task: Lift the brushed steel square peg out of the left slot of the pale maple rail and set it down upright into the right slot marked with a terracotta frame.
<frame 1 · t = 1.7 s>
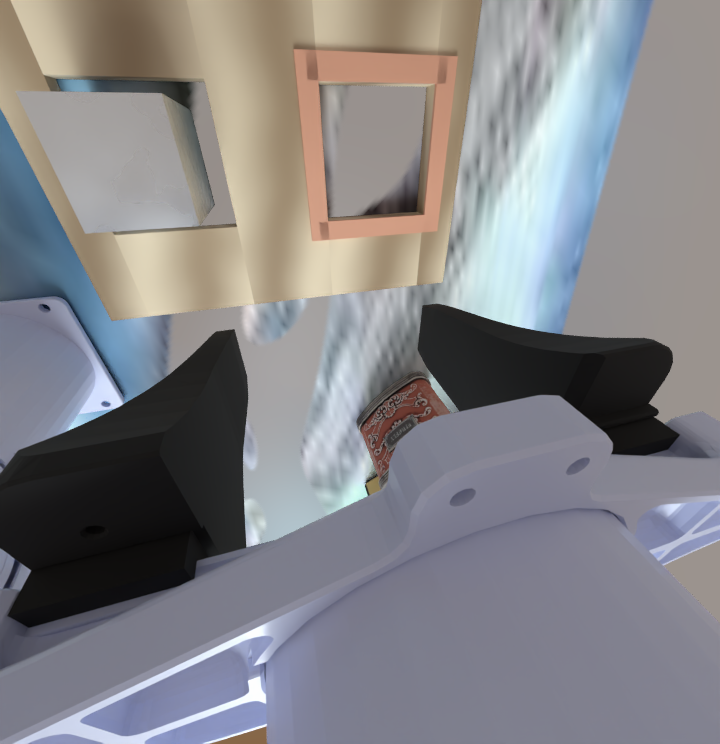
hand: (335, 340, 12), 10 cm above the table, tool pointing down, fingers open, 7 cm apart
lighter: (390, 401, 30), on the table
steel peg: (160, 162, 16), resting in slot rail
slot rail: (273, 159, 17), on the table
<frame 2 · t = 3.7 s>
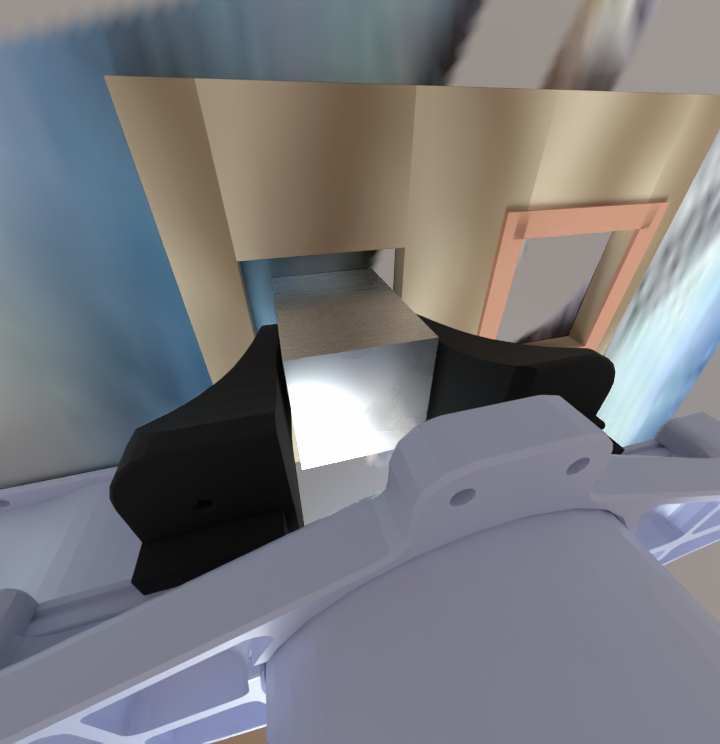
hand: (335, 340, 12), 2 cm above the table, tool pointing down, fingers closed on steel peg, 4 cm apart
steel peg: (326, 319, 14), resting in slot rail, touching gripper
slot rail: (442, 304, 15), on the table
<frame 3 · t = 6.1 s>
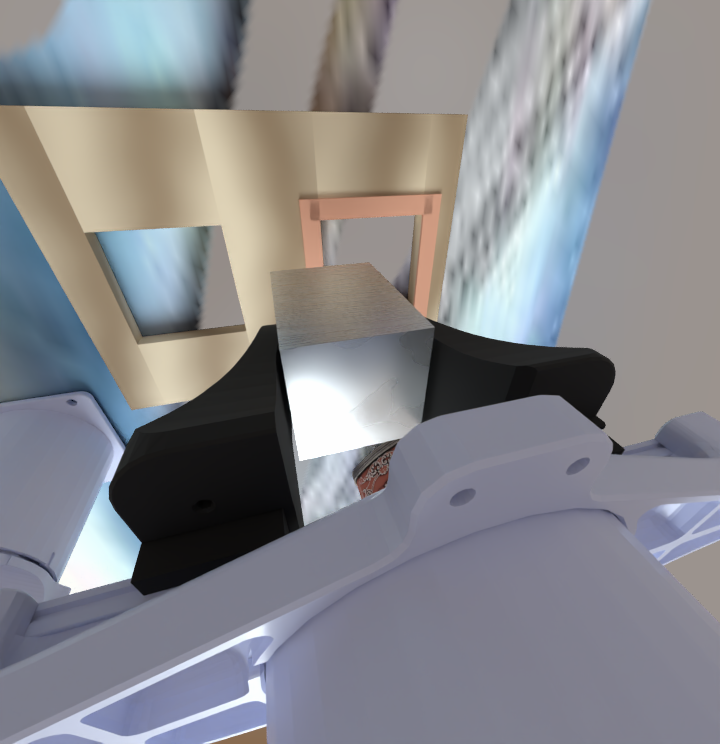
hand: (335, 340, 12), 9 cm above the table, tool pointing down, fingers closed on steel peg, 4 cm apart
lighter: (384, 454, 32), on the table
steel peg: (324, 313, 14), point 7 cm above the table, touching gripper
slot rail: (279, 273, 19), on the table
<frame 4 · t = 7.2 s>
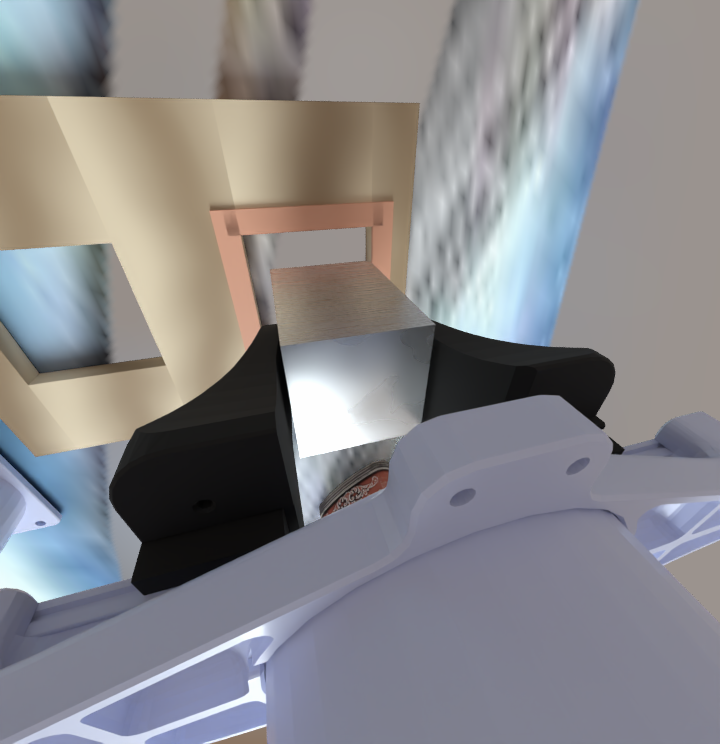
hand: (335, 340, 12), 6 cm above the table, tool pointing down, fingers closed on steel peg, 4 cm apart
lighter: (354, 486, 29), on the table
steel peg: (325, 311, 14), point 4 cm above the table, touching gripper
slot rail: (202, 297, 16), on the table
when the fingers open (3 cm above the table, at t = 8.4 s): steel peg stays where it is, resting in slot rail.
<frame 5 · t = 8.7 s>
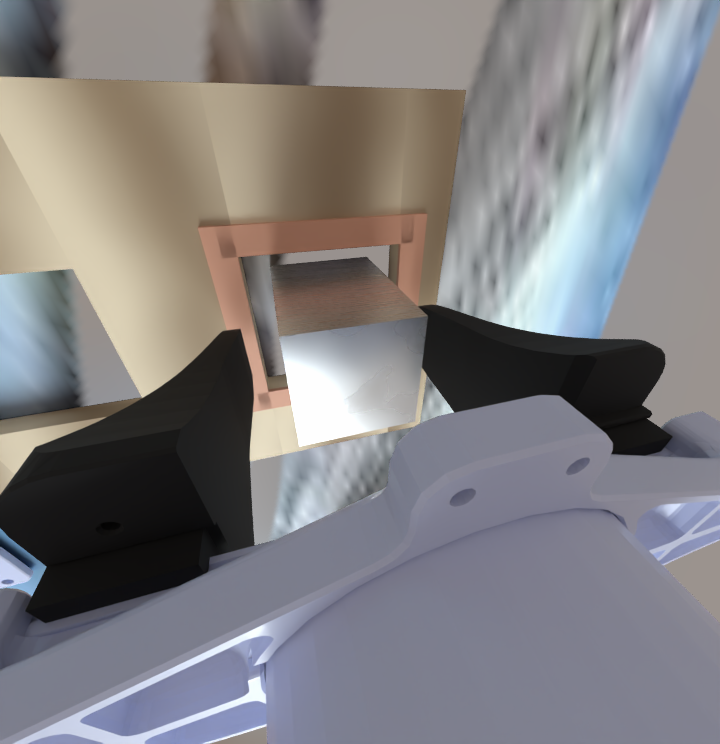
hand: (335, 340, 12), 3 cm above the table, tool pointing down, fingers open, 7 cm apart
steel peg: (323, 306, 14), resting in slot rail
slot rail: (192, 328, 13), on the table
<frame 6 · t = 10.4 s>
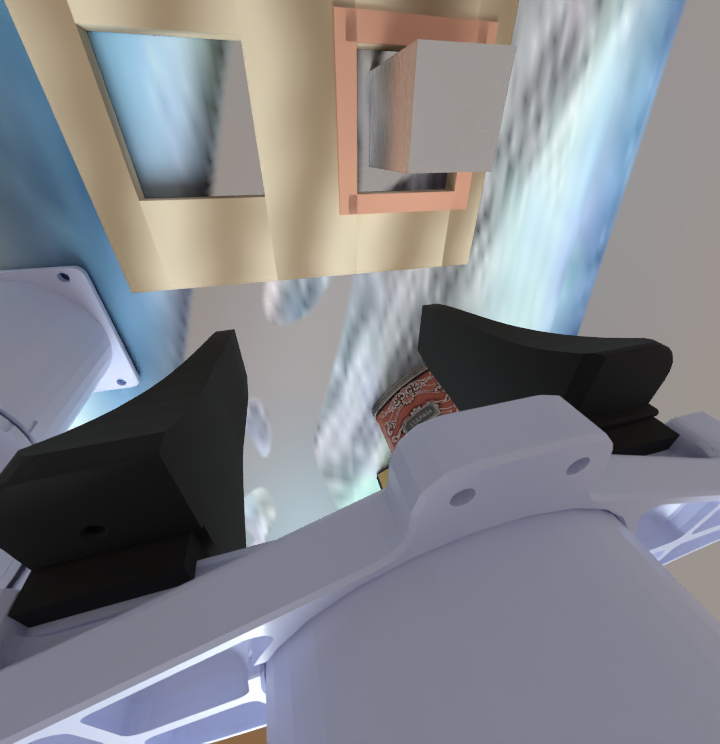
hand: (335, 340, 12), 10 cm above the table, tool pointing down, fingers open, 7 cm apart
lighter: (406, 389, 29), on the table
steel peg: (404, 122, 17), resting in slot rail
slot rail: (304, 127, 16), on the table
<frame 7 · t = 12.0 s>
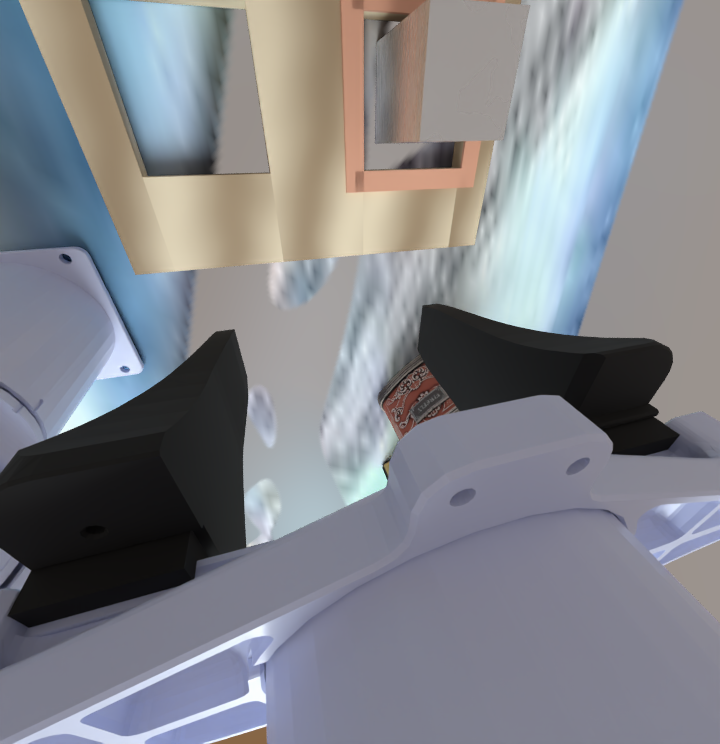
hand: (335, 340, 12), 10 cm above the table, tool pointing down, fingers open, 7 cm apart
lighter: (412, 376, 29), on the table
steel peg: (410, 97, 17), resting in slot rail
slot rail: (309, 101, 16), on the table
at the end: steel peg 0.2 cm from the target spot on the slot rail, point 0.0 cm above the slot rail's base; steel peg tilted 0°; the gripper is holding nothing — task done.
